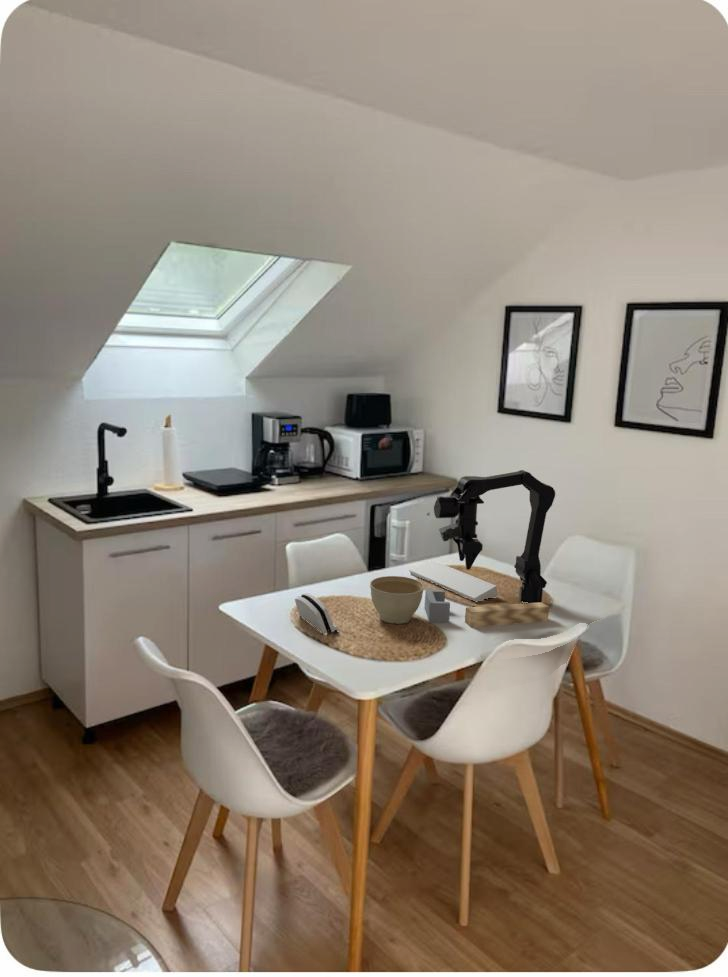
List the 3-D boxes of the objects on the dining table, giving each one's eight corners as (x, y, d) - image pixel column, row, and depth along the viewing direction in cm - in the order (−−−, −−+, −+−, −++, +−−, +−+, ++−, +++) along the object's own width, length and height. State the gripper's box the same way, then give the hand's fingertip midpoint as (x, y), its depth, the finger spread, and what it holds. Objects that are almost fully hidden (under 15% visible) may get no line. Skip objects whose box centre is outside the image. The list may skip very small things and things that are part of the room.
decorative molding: (476, 611, 245) (498, 598, 250) (474, 598, 243) (496, 585, 248) (411, 581, 272) (431, 570, 277) (408, 569, 270) (429, 559, 275)
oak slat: (541, 617, 234) (542, 602, 233) (547, 622, 230) (549, 606, 229) (464, 623, 226) (465, 607, 225) (470, 628, 223) (471, 612, 222)
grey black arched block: (340, 633, 214) (330, 603, 210) (326, 641, 212) (316, 611, 208) (314, 613, 228) (304, 585, 224) (300, 620, 226) (291, 592, 222)
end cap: (443, 608, 237) (444, 590, 236) (448, 622, 225) (450, 603, 224) (424, 607, 237) (425, 589, 236) (429, 621, 225) (430, 602, 224)
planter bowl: (360, 623, 222) (362, 588, 220) (378, 606, 237) (380, 573, 235) (413, 632, 217) (415, 596, 214) (428, 614, 231) (430, 580, 229)
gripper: (436, 510, 243) (434, 556, 246) (447, 524, 225) (445, 574, 228) (470, 510, 244) (467, 556, 247) (484, 524, 226) (481, 574, 229)
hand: (464, 565), depth 238 cm, fingers open, 9 cm apart
